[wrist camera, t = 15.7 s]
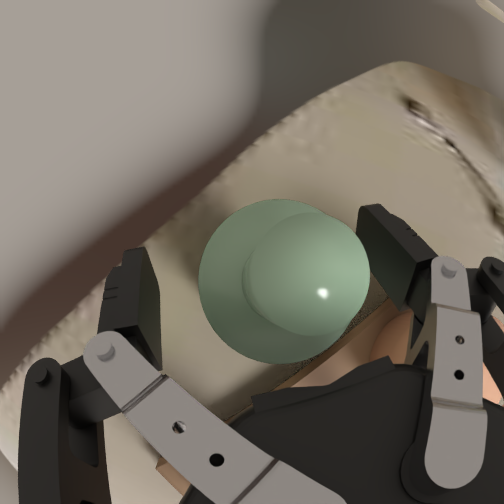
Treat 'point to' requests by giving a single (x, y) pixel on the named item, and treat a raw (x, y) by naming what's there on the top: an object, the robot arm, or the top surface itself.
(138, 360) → the robot arm
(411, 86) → the top surface
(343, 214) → the top surface
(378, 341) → the peach rounded cylinder
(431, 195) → the top surface
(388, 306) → the board
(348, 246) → the bottle
